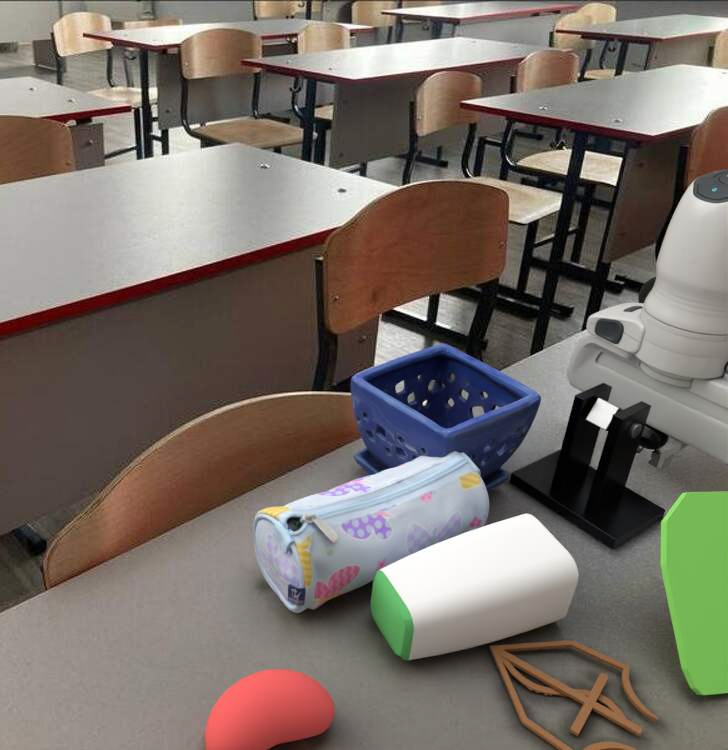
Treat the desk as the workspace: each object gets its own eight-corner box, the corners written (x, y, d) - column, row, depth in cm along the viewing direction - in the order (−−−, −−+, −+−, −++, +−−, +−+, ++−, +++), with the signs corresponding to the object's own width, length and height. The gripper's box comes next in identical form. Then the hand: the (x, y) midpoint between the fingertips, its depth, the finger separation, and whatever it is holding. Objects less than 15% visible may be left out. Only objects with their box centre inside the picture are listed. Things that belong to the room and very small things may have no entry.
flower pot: (428, 542, 74) (447, 436, 68) (337, 469, 84) (347, 371, 78) (523, 494, 80) (547, 394, 74) (428, 432, 90) (443, 338, 84)
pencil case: (291, 638, 64) (297, 549, 59) (240, 570, 70) (242, 484, 66) (487, 555, 72) (506, 471, 68) (425, 501, 79) (438, 421, 74)
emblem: (626, 789, 53) (623, 795, 53) (671, 688, 59) (668, 694, 60) (460, 688, 59) (458, 694, 60) (517, 607, 66) (515, 613, 66)
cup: (366, 552, 63) (524, 504, 67) (359, 611, 67) (509, 563, 71) (414, 623, 57) (584, 566, 61) (403, 684, 61) (563, 627, 65)
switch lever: (635, 442, 84) (651, 416, 84) (663, 457, 82) (680, 430, 82) (578, 420, 75) (595, 391, 75) (608, 437, 73) (626, 406, 72)
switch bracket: (558, 457, 86) (583, 362, 80) (662, 519, 77) (699, 417, 71) (508, 482, 82) (531, 383, 76) (612, 549, 73) (647, 444, 68)
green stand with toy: (802, 489, 66) (740, 500, 72) (651, 493, 63) (599, 504, 69) (852, 680, 62) (782, 676, 68) (693, 696, 59) (633, 689, 64)
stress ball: (325, 685, 52) (322, 645, 58) (191, 710, 52) (202, 668, 59) (343, 761, 52) (338, 713, 58) (209, 785, 53) (218, 735, 59)
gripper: (816, 379, 71) (761, 501, 78) (611, 298, 86) (580, 406, 92) (780, 398, 68) (727, 524, 75) (574, 310, 83) (545, 422, 89)
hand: (644, 458), depth 84 cm, fingers closed
